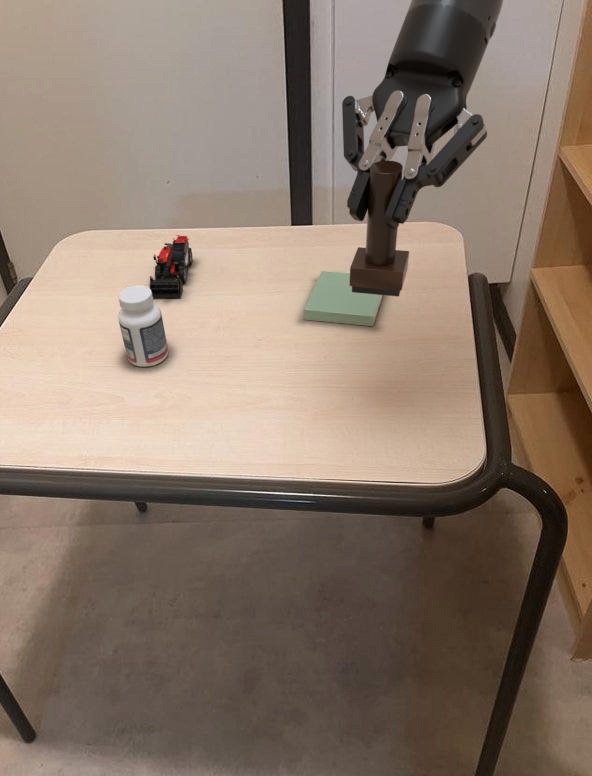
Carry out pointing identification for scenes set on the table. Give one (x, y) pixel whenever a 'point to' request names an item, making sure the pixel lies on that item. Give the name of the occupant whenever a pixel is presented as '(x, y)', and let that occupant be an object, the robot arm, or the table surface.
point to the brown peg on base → (380, 239)
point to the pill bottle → (142, 327)
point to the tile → (340, 301)
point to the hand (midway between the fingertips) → (373, 220)
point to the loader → (171, 268)
